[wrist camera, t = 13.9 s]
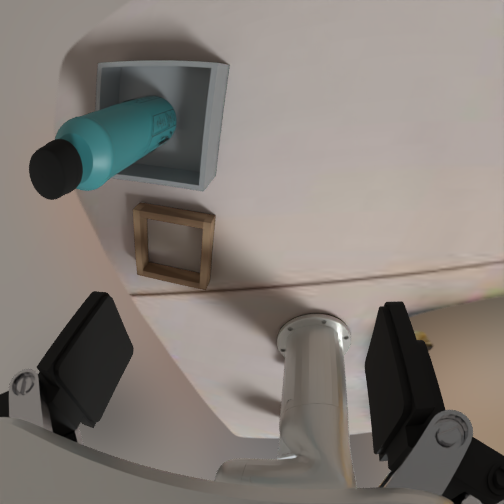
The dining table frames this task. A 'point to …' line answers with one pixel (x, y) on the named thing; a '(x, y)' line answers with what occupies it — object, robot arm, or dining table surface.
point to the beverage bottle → (101, 145)
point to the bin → (187, 114)
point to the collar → (176, 217)
